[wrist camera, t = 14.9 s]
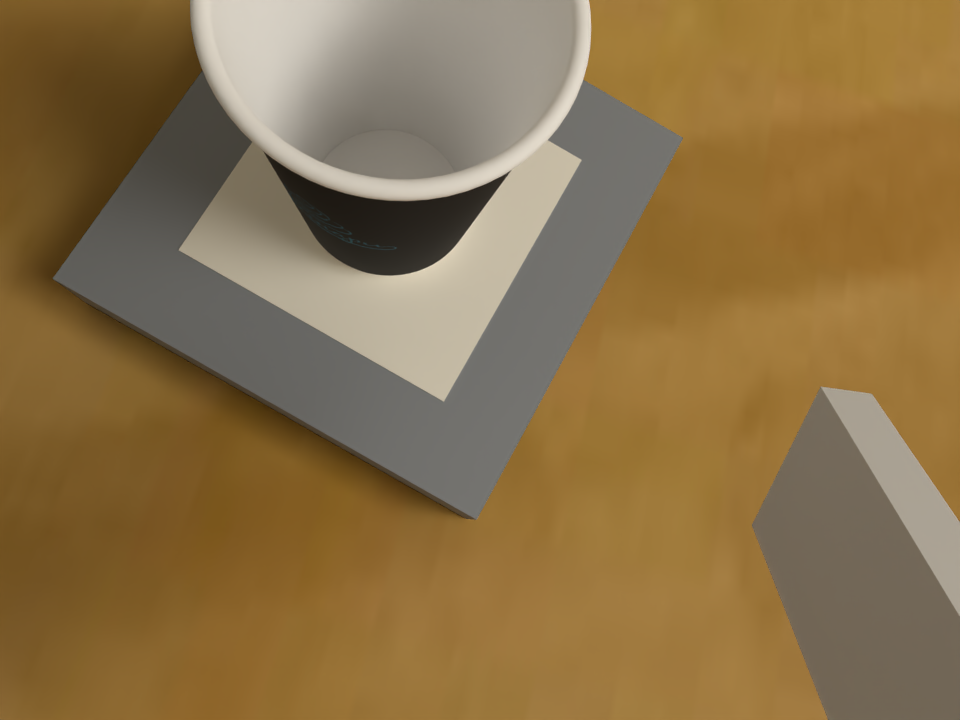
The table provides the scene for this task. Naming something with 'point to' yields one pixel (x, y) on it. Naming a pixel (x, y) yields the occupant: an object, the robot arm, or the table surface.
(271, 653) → the table surface
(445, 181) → the dixie cup
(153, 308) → the plinth
